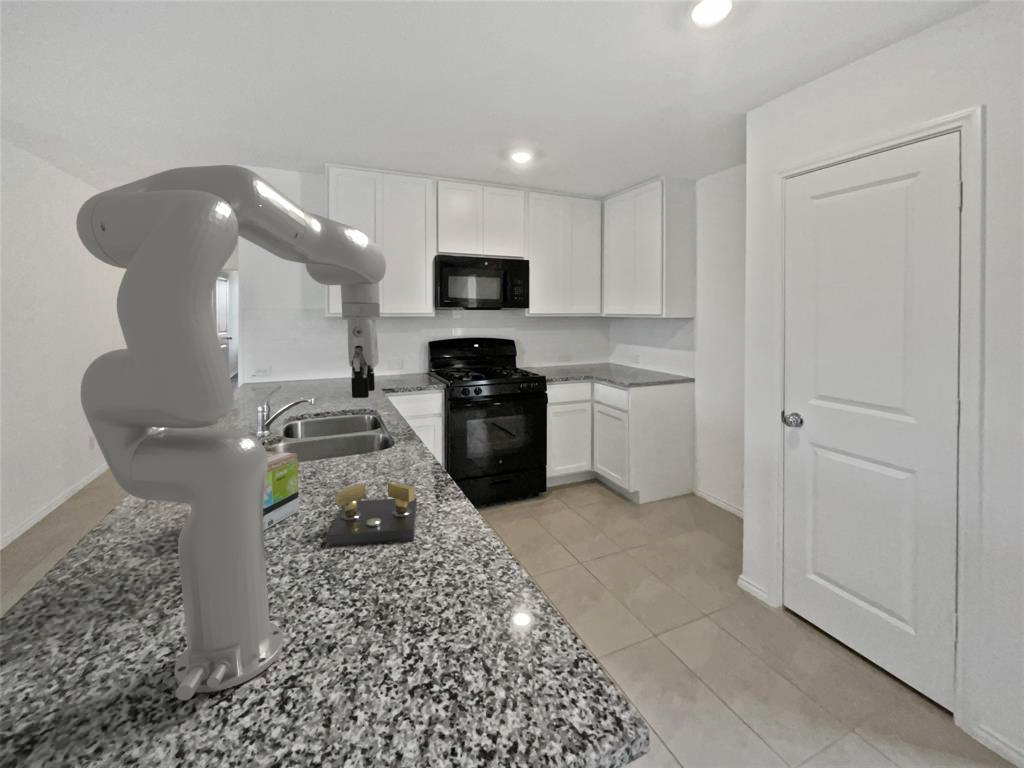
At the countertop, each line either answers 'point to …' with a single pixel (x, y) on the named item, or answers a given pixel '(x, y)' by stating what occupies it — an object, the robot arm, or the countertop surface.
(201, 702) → the countertop surface
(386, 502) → the base
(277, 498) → the tea box
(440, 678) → the countertop surface
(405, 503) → the knob
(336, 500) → the knob
